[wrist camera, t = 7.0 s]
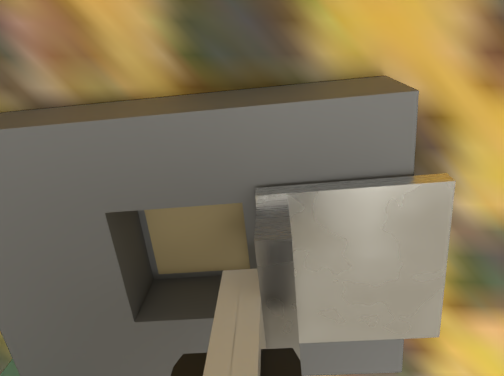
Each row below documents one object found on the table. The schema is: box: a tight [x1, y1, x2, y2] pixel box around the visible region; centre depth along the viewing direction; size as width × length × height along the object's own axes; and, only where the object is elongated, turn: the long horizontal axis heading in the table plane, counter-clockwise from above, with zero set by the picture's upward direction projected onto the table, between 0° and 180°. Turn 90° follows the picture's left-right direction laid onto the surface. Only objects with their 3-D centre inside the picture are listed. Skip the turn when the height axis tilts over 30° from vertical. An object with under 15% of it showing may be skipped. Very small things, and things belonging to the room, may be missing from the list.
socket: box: [0, 76, 419, 376], centre depth 20 cm, size 20×14×4 cm
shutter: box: [254, 173, 455, 362], centre depth 15 cm, size 8×8×4 cm
